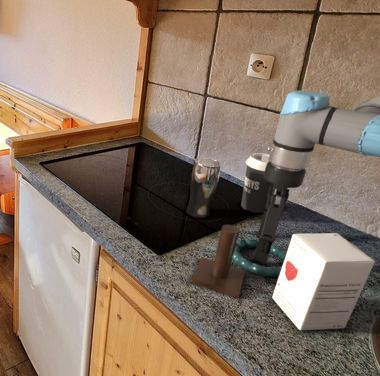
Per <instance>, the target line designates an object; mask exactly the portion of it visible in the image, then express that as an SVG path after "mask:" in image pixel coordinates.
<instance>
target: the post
mask: <svg viewBox="0 0 380 376" xmlns="http://www.w3.org/2000/svg"><path fill="white" fill-rule="evenodd" d="M240 231H241V230H240V229H239V227H237V226H236V225H233V224H224V225H222V226H221V229H220V233H219V237H218V243H217V246H216V251H215V255H214V260H213V259H210V258H207V257H202V256H201V257H200V260H199V262H198V265H197V267H196V269H195V272H194V274H193V277H192V279H191V284H193V285H197V286H200V287H203V288H205V289H209V290H212V291H214V292H218V293H221V294H223V295H224V294H225V295H227V296H229V297H233V298H236V299H239V298H240V296H241V295H240V294H241V291H242V286H243V282H244V279H245V273H246V269H244V268H241V267H236V266H233V265H232V261H233V259H232V258H233V254H234V250H235V246H236V243H237V241H238V239H239V235H240Z"/></svg>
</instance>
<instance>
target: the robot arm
mask: <svg viewBox="0 0 380 376" xmlns="http://www.w3.org/2000/svg"><path fill="white" fill-rule="evenodd" d="M330 99H331V98H330V95H328V94H326V93H324V92H319V91H314V90H301V89H300V90H293V91H290V92H289V93H288V94H287V95H286V97H285V100H284V103H283V106H282V109H281V111H280V112H279V119H278V123H277V127H276V130H275V134H274V137H273V141H272V146H268V147H267V151H268V152H269V154H270V155H269V161H270V162H268V163H267V165H266V168H265V172H264V176H263V177H264V179H265V180H266V181H267V182H269V183H272V184H273V186H271V185H270V187H269V190H268V195H267V197H268V200H267V204H266V211H264V212H263V215H262V219H261V222H260V225H259V228H258V232H257V234H256V237H255V238H258V239H257V240H258V243H257V246H256V248H255V250H254V253H253V256H252V260H251V262H252V263H254V264H258V265H261V266H266V265H267V262H268V259H269V255H270V249H271V246H272V244H274V242H275V240H276V239H275V237H276V233H277V230H278V226H279V223H280V219H281V215H282V213H283V212H284V210H285V207H286V203H287V201H288V200H289V198H290V197H289V196H290V190H291V189H296V188H299V187H301V186H302V185H303V183H304V179H305V177H306V173H307V170H306V169H307V168H309V165H310V162H311V159H312V157H313V153H314V150H315V145H316V144H317V145H320V146H325V147H329V148H333V149H338V150H343V151H346V152H351V153H355V154H360V155H362V156H366V157H367V156H370V157H375V158H380V95H378V96H375V97H374V98H372V99H367V100H365V101H363V102H361V103H359V104H358V105H356V106H355V107H354V108H353V109H347V108H341V107H336V106H333V105H330V104H331V103H330V101H331V100H330Z"/></svg>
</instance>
